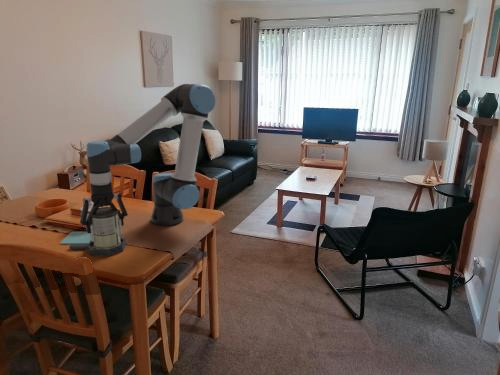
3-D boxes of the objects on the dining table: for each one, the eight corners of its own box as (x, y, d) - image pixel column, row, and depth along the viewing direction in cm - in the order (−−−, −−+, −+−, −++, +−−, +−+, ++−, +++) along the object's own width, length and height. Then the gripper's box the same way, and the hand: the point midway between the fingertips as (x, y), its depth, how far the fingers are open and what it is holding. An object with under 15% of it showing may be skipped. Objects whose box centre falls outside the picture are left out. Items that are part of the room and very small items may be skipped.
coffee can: (89, 243, 143) (85, 210, 139) (115, 236, 150) (112, 205, 146) (98, 252, 136) (94, 217, 132) (125, 245, 142) (122, 211, 138)
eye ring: (128, 241, 150) (128, 235, 149) (119, 255, 137) (119, 250, 136) (77, 241, 149) (77, 235, 148) (63, 256, 136) (62, 250, 135)
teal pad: (100, 232, 158) (99, 231, 158) (90, 244, 146) (90, 243, 146) (71, 232, 157) (71, 231, 157) (59, 244, 145) (59, 243, 145)
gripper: (126, 176, 145) (130, 227, 152) (65, 185, 131) (73, 241, 138) (134, 180, 140) (137, 232, 146) (71, 190, 126) (78, 247, 132)
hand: (106, 236), depth 142 cm, fingers closed on coffee can, 10 cm apart
